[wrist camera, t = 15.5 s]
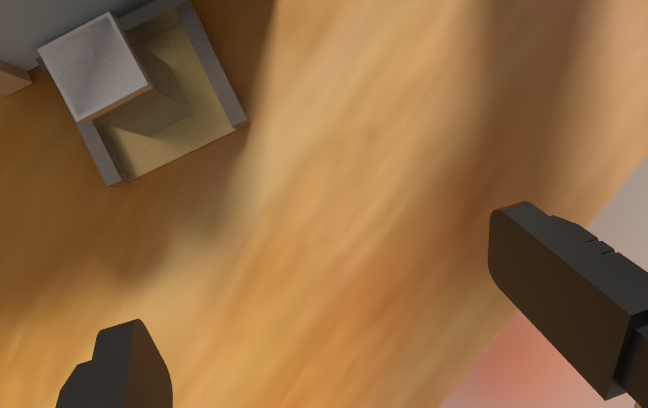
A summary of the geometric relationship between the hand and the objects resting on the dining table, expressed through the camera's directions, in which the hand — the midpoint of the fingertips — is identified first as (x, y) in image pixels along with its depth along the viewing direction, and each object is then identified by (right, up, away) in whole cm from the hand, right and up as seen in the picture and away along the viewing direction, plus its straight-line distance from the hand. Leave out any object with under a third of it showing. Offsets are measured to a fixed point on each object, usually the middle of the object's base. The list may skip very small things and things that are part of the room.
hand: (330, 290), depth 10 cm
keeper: (-13, +10, +24) cm, 29 cm away
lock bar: (-13, +10, +24) cm, 29 cm away
